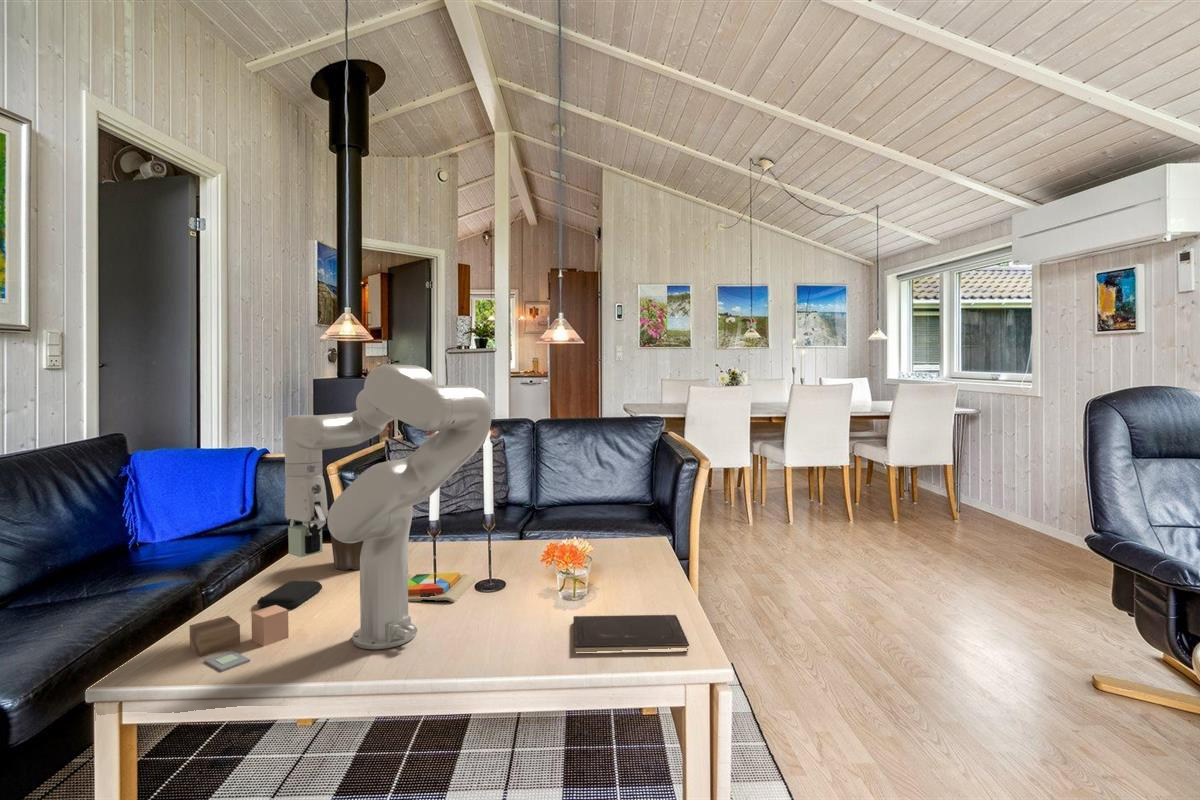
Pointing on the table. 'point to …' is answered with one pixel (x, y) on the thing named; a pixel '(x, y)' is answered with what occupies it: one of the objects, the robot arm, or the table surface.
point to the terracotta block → (269, 625)
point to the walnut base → (214, 635)
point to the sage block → (299, 540)
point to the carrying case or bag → (290, 594)
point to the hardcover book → (627, 633)
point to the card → (227, 660)
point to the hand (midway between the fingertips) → (305, 549)
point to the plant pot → (346, 554)
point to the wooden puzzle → (438, 586)
